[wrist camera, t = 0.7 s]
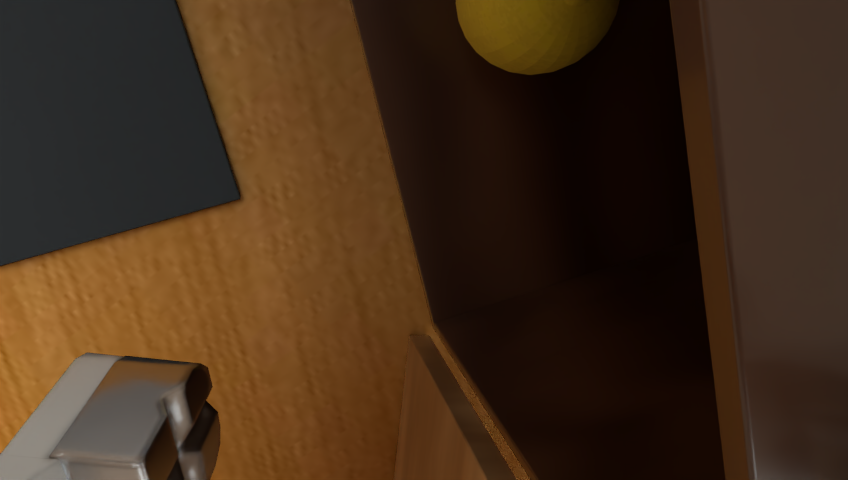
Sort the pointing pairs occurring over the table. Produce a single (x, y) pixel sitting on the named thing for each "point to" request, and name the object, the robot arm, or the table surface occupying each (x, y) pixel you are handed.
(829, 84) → the cupboard
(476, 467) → the cupboard door
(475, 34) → the lemon
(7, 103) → the mat
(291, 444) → the table surface
